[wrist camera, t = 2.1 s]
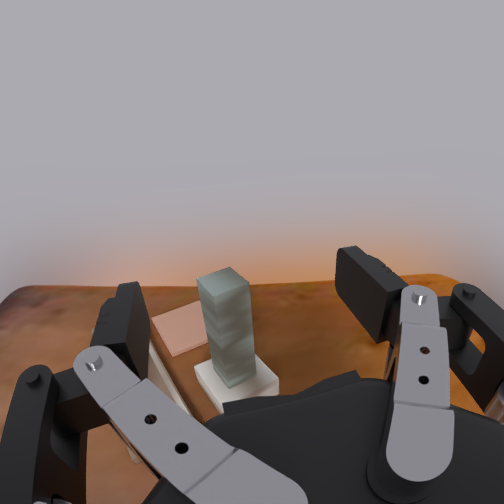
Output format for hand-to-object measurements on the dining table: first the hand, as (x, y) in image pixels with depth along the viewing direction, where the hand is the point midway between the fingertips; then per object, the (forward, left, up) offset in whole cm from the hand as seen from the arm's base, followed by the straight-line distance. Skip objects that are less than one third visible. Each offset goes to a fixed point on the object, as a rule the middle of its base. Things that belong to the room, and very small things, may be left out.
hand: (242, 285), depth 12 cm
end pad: (+3, +22, -19) cm, 29 cm away
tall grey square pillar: (+3, +10, -19) cm, 21 cm away
